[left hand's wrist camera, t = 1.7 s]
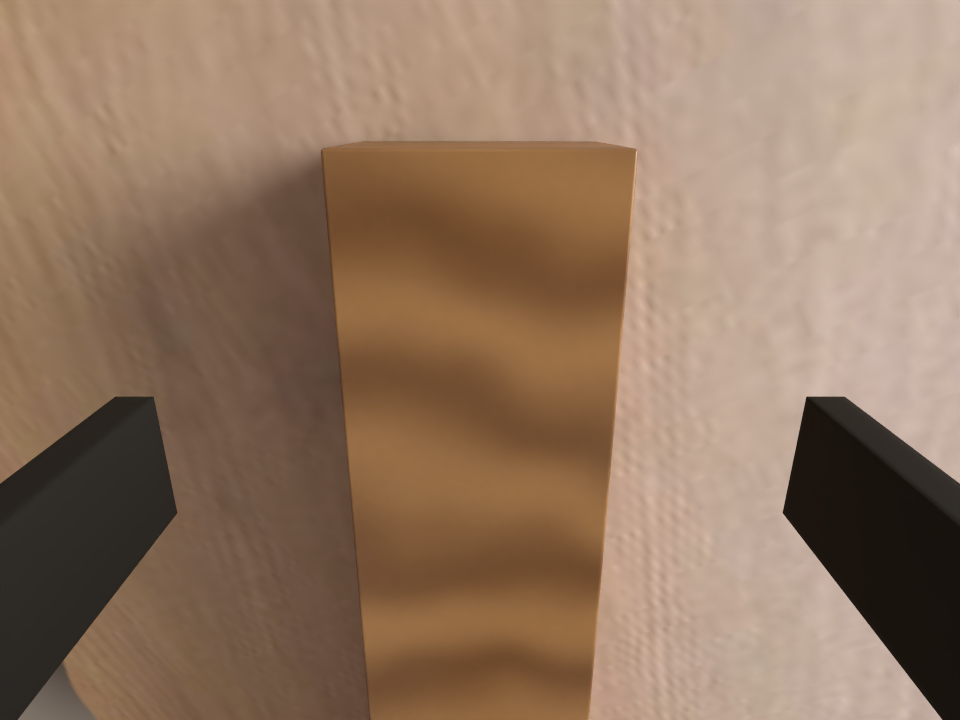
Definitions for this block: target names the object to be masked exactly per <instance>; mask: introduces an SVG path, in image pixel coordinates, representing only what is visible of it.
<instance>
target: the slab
mask: <svg viewBox="0 0 960 720" xmlns="http://www.w3.org/2000/svg"><path fill="white" fill-rule="evenodd" d="M637 155H638V151H637V149H634V148H628V147H623V146H617V145H612V144H606V143H600V142H358V143H352V144H347V145H341V146H335V147H330V148H324V149H322V150H321V158H322V170H323V182H324V193H325V205H326V217H327V228H328V240H329V252H330V263H331V275H332V286H333V298H334V310H335V321H336V333H337V345H338V356H339V368H340V379H341V391H342V403H343V414H344V426H345V438H346V449H347V461H348V473H349V484H350V496H351V507H352V519H353V531H354V542H355V554H356V566H357V577H358V589H359V600H360V612H361V624H362V635H363V647H364V659H365V670H366V682H367V694H368V705H369V717H370V720H589V713H590V701H591V689H592V678H593V666H594V655H595V643H596V631H597V620H598V608H599V597H600V585H601V573H602V562H603V550H604V539H605V527H606V515H607V504H608V492H609V480H610V469H611V457H612V446H613V434H614V422H615V411H616V399H617V388H618V376H619V364H620V353H621V341H622V330H623V318H624V306H625V295H626V283H627V272H628V260H629V248H630V237H631V225H632V214H633V202H634V190H635V179H636V167H637Z"/></svg>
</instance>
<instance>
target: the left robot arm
mask: <svg viewBox="0 0 960 720" xmlns="http://www.w3.org/2000/svg"><path fill="white" fill-rule="evenodd" d="M176 514H177V509H176V504H175V500H174V495H173V490H172V485H171V480H170V475H169V470H168V465H167V460H166V456H165V451H164V446H163V441H162V436H161V431H160V426H159V421H158V416H157V412H156V407H155V402H154V397H114V398H113V399H112V400H110V401H109V402H108V403H106V404H105V405H104V406H103V407H101V408H100V409H99V410H97V411H96V412H95V413H93V414H92V415H91V416H89V417H88V418H87V419H85V420H84V421H83V422H81V423H80V424H79V425H77V426H76V427H75V428H73V429H72V430H71V431H69V432H68V433H67V434H65V435H64V436H63V437H62V438H60V439H59V440H58V441H56V442H55V443H54V444H52V445H51V446H50V447H48V448H47V449H46V450H44V451H43V452H42V453H40V454H39V455H38V456H36V457H35V458H34V459H32V460H31V461H30V462H28V463H27V464H26V465H25V466H23V467H22V468H21V469H19V470H18V471H17V472H15V473H14V474H13V475H11V476H10V477H9V478H7V479H6V480H5V481H3V482H2V483H1V484H0V720H18V718H19V717H20V716H21V714H22V713H23V712H24V711H25V709H26V708H27V707H28V705H29V704H30V703H31V702H32V700H33V699H34V698H35V696H36V695H37V694H38V692H39V691H40V690H41V689H42V687H43V686H44V685H45V683H46V682H47V681H48V680H49V678H50V677H51V676H52V674H53V673H54V672H55V670H56V669H57V668H58V667H59V665H60V664H61V663H62V661H63V660H64V659H65V658H66V656H67V655H68V654H69V652H70V651H71V650H72V648H73V647H74V646H75V645H76V643H77V642H78V641H79V639H80V638H81V637H82V636H83V634H84V633H85V632H86V630H87V629H88V628H89V626H90V625H91V624H92V623H93V621H94V620H95V619H96V617H97V616H98V615H99V614H100V612H101V611H102V610H103V608H104V607H105V606H106V604H107V603H108V602H109V601H110V599H111V598H112V597H113V595H114V594H115V593H116V592H117V590H118V589H119V588H120V586H121V585H122V584H123V582H124V581H125V580H126V579H127V577H128V576H129V575H130V573H131V572H132V571H133V570H134V568H135V567H136V566H137V564H138V563H139V562H140V560H141V559H142V558H143V557H144V555H145V554H146V553H147V551H148V550H149V549H150V548H151V546H152V545H153V544H154V542H155V541H156V540H157V538H158V537H159V536H160V535H161V533H162V532H163V531H164V529H165V528H166V527H167V525H168V524H169V523H170V522H171V520H172V519H173V518H174V516H175V515H176ZM783 514H784V515H785V516H786V518H787V519H788V520H789V522H790V523H791V524H792V525H793V527H794V528H795V529H796V531H797V532H798V533H799V535H800V536H801V537H802V538H803V540H804V541H805V542H806V544H807V545H808V546H809V548H810V549H811V550H812V551H813V553H814V554H815V555H816V557H817V558H818V559H819V560H820V562H821V563H822V564H823V566H824V567H825V568H826V570H827V571H828V572H829V573H830V575H831V576H832V577H833V579H834V580H835V581H836V582H837V584H838V585H839V586H840V588H841V589H842V590H843V592H844V593H845V594H846V595H847V597H848V598H849V599H850V601H851V602H852V603H853V604H854V606H855V607H856V608H857V610H858V611H859V612H860V614H861V615H862V616H863V617H864V619H865V620H866V621H867V623H868V624H869V625H870V626H871V628H872V629H873V630H874V632H875V633H876V634H877V636H878V637H879V638H880V639H881V641H882V642H883V643H884V645H885V646H886V647H887V648H888V650H889V651H890V652H891V654H892V655H893V656H894V658H895V659H896V660H897V661H898V663H899V664H900V665H901V667H902V668H903V669H904V670H905V672H906V673H907V674H908V676H909V677H910V678H911V680H912V681H913V682H914V683H915V685H916V686H917V687H918V689H919V690H920V691H921V692H922V694H923V695H924V696H925V698H926V699H927V700H928V702H929V703H930V704H931V705H932V707H933V708H934V709H935V711H936V712H937V713H938V714H939V716H940V717H941V718H942V720H960V484H959V483H958V482H957V481H955V480H954V479H953V478H951V477H950V476H949V475H947V474H946V473H945V472H943V471H942V470H941V469H939V468H938V467H937V466H935V465H934V464H933V463H932V462H930V461H929V460H928V459H926V458H925V457H924V456H922V455H921V454H920V453H918V452H917V451H916V450H914V449H913V448H912V447H910V446H909V445H908V444H906V443H905V442H904V441H902V440H901V439H900V438H898V437H897V436H896V435H895V434H893V433H892V432H891V431H889V430H888V429H887V428H885V427H884V426H883V425H881V424H880V423H879V422H877V421H876V420H875V419H873V418H872V417H871V416H869V415H868V414H867V413H865V412H864V411H863V410H861V409H860V408H859V407H857V406H856V405H855V404H854V403H852V402H851V401H850V400H848V399H847V398H846V397H806V402H805V407H804V412H803V416H802V421H801V426H800V431H799V436H798V441H797V446H796V451H795V456H794V460H793V465H792V470H791V475H790V480H789V485H788V490H787V495H786V500H785V504H784V509H783Z"/></svg>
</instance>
